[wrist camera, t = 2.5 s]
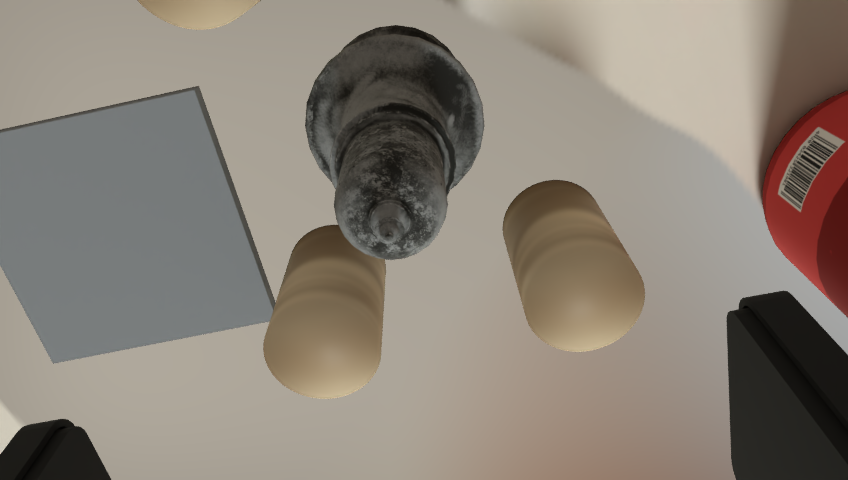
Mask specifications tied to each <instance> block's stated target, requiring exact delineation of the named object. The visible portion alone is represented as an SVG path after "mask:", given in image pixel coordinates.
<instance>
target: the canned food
mask: <svg viewBox="0 0 848 480" xmlns="http://www.w3.org/2000/svg"><path fill="white" fill-rule="evenodd" d="M762 204H763V209H764V214H765V219H766V222H767V225H768V228H769V231H770V233H771V235H772V238H773V240H774V242H775V244H776V246H777V247H778V248H779V249H780V250H781V252H782V253H783V254H784V255H785V257H786V258H787V259H788V260H789V261H790V262H791V263H792V264H794V266H796V267H797V268H798V269H799V270H800V271H801V272H802V273H803V274H804V275H805V276H806V277H807V278H808V279H809V280H810V281H811V282H812V283H813V284H814V285H815V286H816V287H817V288H818V289H819V290H820V291H821V292H822V293H823V294H824V295H825V296H826V297H827V298H828V299H829V300H830V301H831V302H832V303H834V305H835V306H837V308H838V309H840V310H841V311H842V312H843V313H844V314H845V315H846V316H847V317H848V91H846V92H843V93H841V94H838V95H835V96H833V97H831V98H829V99H828V100H826V101H824V102H822V103H821V104H819V105H817V106H816V107H814V108H813V109H812V110H811V111H809V112H808V113H807V114H806V115H804V116H803V117H802V118H801V119H800V120H798V122H797V123H796V124H795V125H794V126H793V127H792V128H791V129H790V131H789V132H788V133H787V134H786V135H785V136H784V138H783V139H782V141H781V143H780V144H779V146H778V147H777V149H776V150H775V152H774V154H773V156H772V159H771V161H770V163H769V166H768V168H767V171H766V176H765V180H764V184H763V203H762Z"/></svg>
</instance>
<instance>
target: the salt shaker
mask: <svg viewBox="0 0 848 480" xmlns="http://www.w3.org/2000/svg"><path fill="white" fill-rule="evenodd" d="M305 126H306V132H307V137H308V142H309V147H310V150H311V151H312V154H313V156H314V158H315V160H316V162H317V164H318V166H319V168H320V169H321V170H322V171H323V172H324V174H325V175H326V176H327V177H328V178H329V179H330V180H331V182H332V183H333V185H334V187H335V189H336V192H335V201H334V208H335V213H336V219H337V222H338V225H339V227H340V229H341V231H342V233H343V235H344V236H345V237H346V239H347V240H348V241H349V242H350V243H351V244H352V245H353V246H354V247H355V248H357V249H358V250H360V251H361V252H363V253H364V254H367V255H369V256H372V257H375V258H379V259H388V260H394V259H402V258H406V257H409V256H411V255H414V254H417V253H419V252H420V251H421V250H423V249H424V248H426V247H427V246H429V244H430V243H431V242H432V241H433V240H434V239H435V237H436V236H437V235H438V233H439V231H440V229H441V227H442V225H443V223H444V220H445V217H446V212H447V206H448V203H447V195H448V193H449V191H450V189H452V188H453V187H454V186H456V185H457V184H458V183H459V181H460V180H461V179H462V178H463V176H465V174H466V173H467V172H468V171H469V170H470V169H471V167H472V164H473V162H474V160H475V158H476V156H477V154H478V152H479V150H480V147H481V141H482V136H483V130H484V118H483V107H482V102H481V99H480V97H479V94H478V91H477V88H476V86H475V83H474V81H473V79H472V78H471V77H470V75H469V74H468V73H467V71H466V70H465V68H464V67H463V66H462V64H461V63H460V62H459V61H458V60H457V59H455V57H454V56H453V54H452V53H451V51H450V50H449V49H448V48H447V47H446V46H445V45H444V44H443V43H441V42H440V41H439V40H438V39H436V38H435V37H434V36H433V35H430V34H428V33H426V32H423V31H421V30H419V29H416V28H412V27H405V26H398V25H395V26H386V27H379V28H375V29H373V30H370V31H368V32H366V33H363V34H361V35H359V36H357V37H356V38H355V39H354V40H352V41H351V42H350V43H349V44H347V45H346V46H345V47H344V48H343V50H342V51H341V52H340V53H339V54H338V55H336V56H335V57H334V58H333V59H331V60H330V61H329V62H328V63H327V65H326V66H325V68H324V69H323V70H322V72H321V73H320V74H319V76H318V77H317V79H316V80H315V82H314V85H313V88H312V90H311V93H310V96H309V99H308V101H307V110H306V124H305Z"/></svg>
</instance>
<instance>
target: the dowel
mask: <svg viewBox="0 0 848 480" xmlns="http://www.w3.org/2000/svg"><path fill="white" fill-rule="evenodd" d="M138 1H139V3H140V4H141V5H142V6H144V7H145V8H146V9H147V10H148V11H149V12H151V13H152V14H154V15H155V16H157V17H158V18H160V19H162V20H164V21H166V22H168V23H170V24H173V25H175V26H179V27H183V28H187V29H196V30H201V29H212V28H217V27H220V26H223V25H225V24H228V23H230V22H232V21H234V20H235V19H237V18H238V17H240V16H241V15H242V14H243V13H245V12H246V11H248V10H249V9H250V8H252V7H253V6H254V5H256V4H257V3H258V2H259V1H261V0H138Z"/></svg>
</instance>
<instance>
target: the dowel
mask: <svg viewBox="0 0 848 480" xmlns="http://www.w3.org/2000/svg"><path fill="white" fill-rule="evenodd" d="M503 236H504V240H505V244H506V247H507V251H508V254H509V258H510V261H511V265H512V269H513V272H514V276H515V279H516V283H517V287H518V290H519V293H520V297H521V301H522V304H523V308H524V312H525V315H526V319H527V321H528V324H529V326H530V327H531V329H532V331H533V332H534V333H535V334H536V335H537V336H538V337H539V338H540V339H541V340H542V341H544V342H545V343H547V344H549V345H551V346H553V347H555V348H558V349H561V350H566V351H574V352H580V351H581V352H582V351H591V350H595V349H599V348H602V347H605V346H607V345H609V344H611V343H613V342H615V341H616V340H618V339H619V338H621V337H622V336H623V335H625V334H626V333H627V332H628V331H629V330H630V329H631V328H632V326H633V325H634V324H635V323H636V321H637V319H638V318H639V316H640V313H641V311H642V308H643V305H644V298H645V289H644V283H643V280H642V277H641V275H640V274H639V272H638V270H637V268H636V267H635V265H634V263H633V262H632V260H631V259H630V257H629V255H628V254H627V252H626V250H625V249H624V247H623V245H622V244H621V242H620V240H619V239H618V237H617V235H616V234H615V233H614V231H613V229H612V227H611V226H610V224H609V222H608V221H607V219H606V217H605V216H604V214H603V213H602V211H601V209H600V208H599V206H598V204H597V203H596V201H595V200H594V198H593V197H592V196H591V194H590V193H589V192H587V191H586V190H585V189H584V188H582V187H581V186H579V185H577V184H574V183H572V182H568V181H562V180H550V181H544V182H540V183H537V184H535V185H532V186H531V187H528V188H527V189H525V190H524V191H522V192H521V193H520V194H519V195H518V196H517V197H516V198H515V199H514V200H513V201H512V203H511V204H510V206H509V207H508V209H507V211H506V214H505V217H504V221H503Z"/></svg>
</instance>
